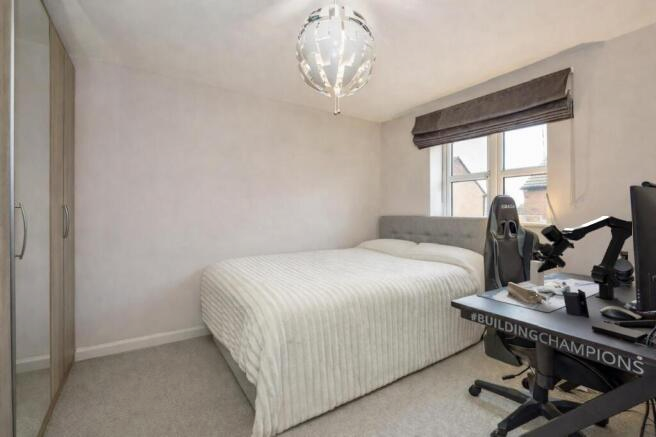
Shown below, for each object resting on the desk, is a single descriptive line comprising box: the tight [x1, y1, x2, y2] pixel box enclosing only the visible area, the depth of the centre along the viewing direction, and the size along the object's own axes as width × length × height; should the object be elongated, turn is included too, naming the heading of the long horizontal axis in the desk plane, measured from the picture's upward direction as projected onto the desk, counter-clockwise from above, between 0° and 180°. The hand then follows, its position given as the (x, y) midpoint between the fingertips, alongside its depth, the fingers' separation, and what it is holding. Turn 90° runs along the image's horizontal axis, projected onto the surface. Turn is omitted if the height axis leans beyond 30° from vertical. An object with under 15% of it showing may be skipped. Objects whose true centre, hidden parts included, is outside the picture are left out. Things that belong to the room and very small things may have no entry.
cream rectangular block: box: [529, 260, 545, 287], centre depth 147 cm, size 3×6×12 cm, turn 178°
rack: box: [507, 281, 547, 304], centre depth 147 cm, size 12×16×6 cm
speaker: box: [562, 288, 590, 319], centre depth 124 cm, size 8×6×10 cm
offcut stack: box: [523, 286, 537, 296], centre depth 148 cm, size 4×10×4 cm, turn 179°
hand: (534, 270), depth 147 cm, fingers closed on cream rectangular block, 5 cm apart
